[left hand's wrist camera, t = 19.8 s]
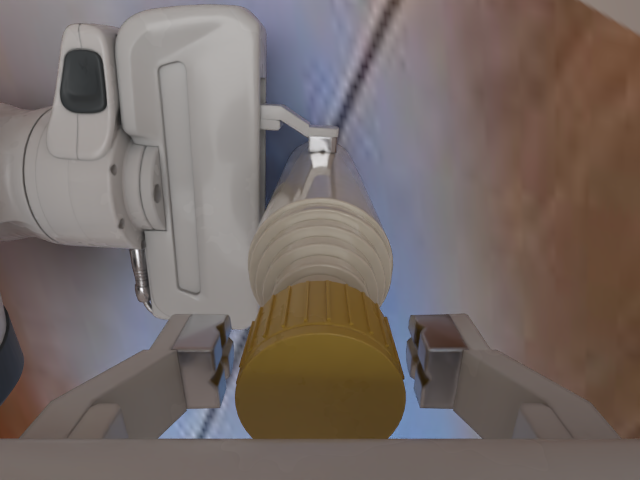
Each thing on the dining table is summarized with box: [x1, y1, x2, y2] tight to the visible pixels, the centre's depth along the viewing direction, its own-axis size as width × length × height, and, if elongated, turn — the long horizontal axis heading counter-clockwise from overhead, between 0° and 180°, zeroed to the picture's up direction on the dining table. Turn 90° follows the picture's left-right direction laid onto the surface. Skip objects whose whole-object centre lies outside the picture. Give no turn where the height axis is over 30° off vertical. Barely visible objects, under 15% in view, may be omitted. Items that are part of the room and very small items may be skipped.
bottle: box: [248, 141, 393, 308], centre depth 19 cm, size 6×6×22 cm
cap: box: [235, 280, 406, 439], centre depth 9 cm, size 4×4×2 cm
